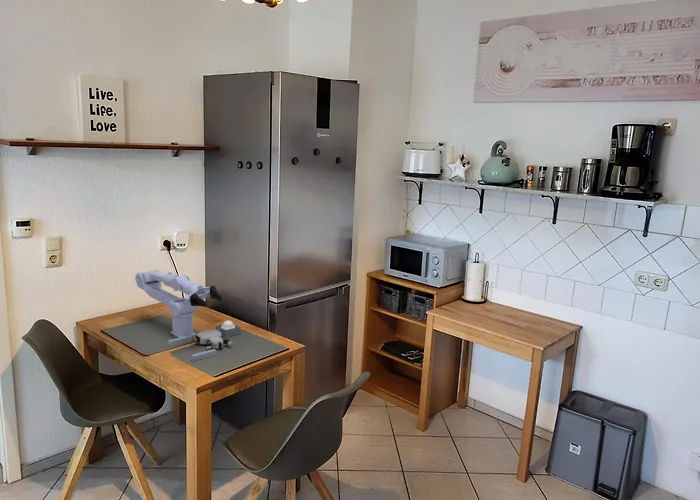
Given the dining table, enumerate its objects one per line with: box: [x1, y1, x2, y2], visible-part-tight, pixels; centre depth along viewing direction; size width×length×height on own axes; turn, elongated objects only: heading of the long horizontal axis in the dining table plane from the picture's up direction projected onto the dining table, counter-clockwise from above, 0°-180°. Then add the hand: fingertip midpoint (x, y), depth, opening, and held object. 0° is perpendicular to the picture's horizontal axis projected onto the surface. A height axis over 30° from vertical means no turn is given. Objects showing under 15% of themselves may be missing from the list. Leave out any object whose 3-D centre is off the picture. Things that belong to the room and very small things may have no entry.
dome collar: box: [215, 322, 242, 339], centre depth 240 cm, size 8×8×3 cm
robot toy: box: [192, 329, 233, 350], centre depth 226 cm, size 12×4×15 cm
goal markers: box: [167, 335, 218, 362], centre depth 220 cm, size 22×10×2 cm, turn 44°
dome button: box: [221, 320, 235, 330], centre depth 240 cm, size 6×6×5 cm
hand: (213, 301), depth 221 cm, fingers open, 7 cm apart
